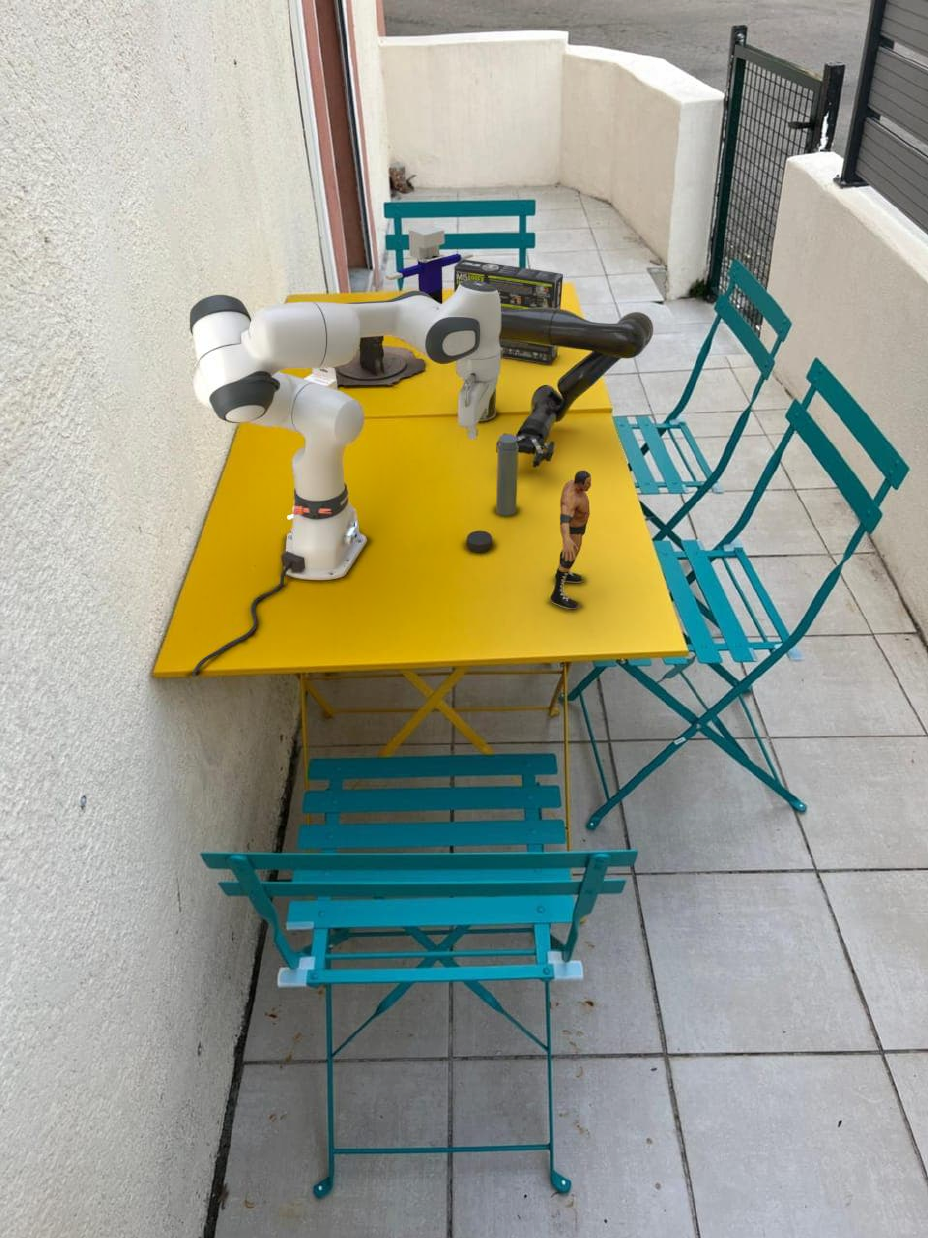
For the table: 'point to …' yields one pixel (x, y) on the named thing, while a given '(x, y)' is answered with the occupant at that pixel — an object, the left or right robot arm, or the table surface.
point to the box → (517, 299)
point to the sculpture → (377, 364)
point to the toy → (428, 260)
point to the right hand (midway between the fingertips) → (517, 461)
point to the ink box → (324, 377)
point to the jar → (507, 475)
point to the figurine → (571, 534)
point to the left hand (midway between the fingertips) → (478, 426)
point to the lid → (479, 541)
